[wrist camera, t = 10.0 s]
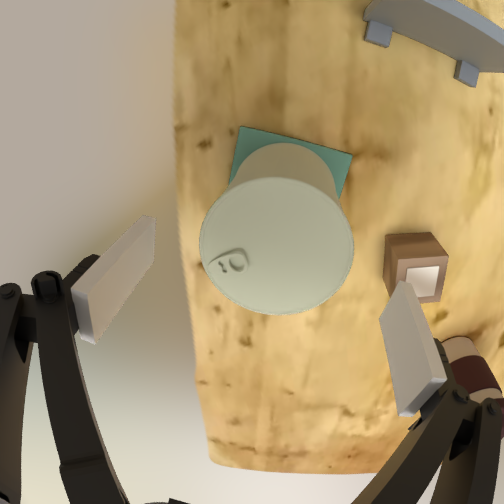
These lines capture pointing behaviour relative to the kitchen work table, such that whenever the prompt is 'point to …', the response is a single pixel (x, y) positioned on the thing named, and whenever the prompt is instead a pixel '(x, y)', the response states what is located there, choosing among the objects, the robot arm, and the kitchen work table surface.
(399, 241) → the letter cube
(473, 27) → the screen
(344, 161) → the mat
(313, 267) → the can
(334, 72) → the kitchen work table surface
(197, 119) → the kitchen work table surface
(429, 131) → the kitchen work table surface
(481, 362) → the coffee cup
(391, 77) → the kitchen work table surface
